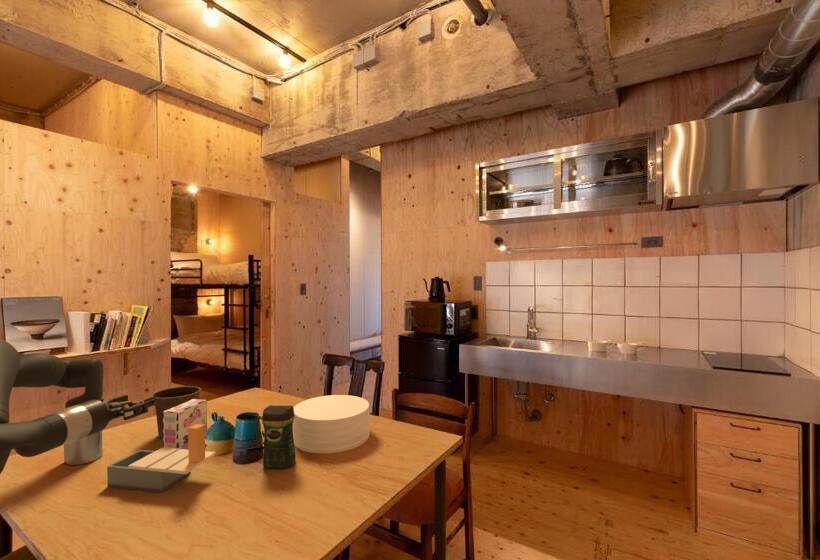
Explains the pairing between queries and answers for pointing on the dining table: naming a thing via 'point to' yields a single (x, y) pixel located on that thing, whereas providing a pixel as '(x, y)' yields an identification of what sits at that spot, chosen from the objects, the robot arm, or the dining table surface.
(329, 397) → the plate stack
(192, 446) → the lid
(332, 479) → the dining table surface
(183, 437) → the candy box
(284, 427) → the coffee jar
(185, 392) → the plant pot
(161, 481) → the tub
